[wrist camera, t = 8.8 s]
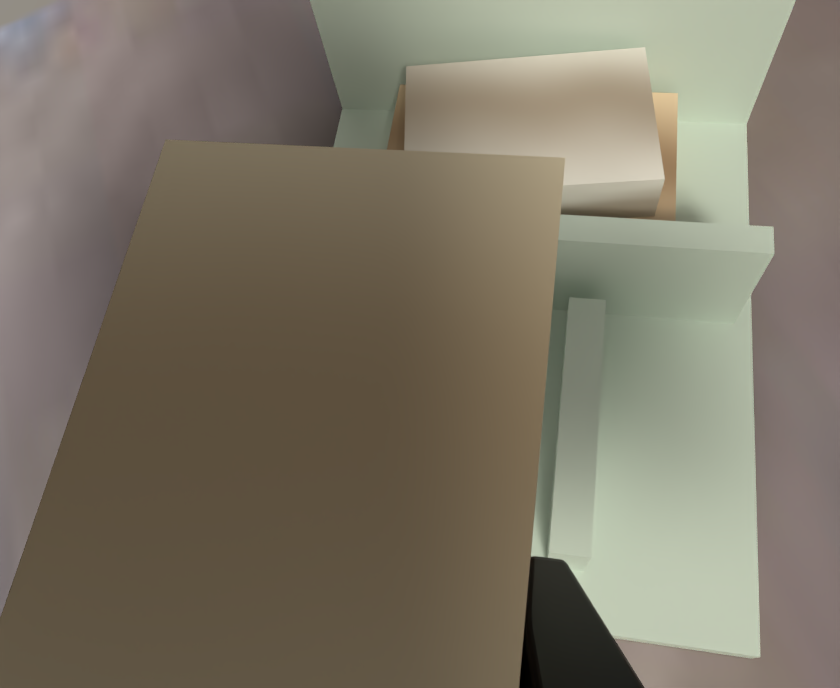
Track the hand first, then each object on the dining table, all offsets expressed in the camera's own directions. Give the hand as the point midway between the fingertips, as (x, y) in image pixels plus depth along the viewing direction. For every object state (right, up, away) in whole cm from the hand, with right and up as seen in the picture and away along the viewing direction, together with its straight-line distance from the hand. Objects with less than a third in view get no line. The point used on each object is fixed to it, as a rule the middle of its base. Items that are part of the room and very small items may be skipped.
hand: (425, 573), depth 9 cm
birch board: (+1, -4, +5) cm, 6 cm away
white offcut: (+3, +9, +15) cm, 17 cm away
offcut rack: (+3, +3, +15) cm, 16 cm away
